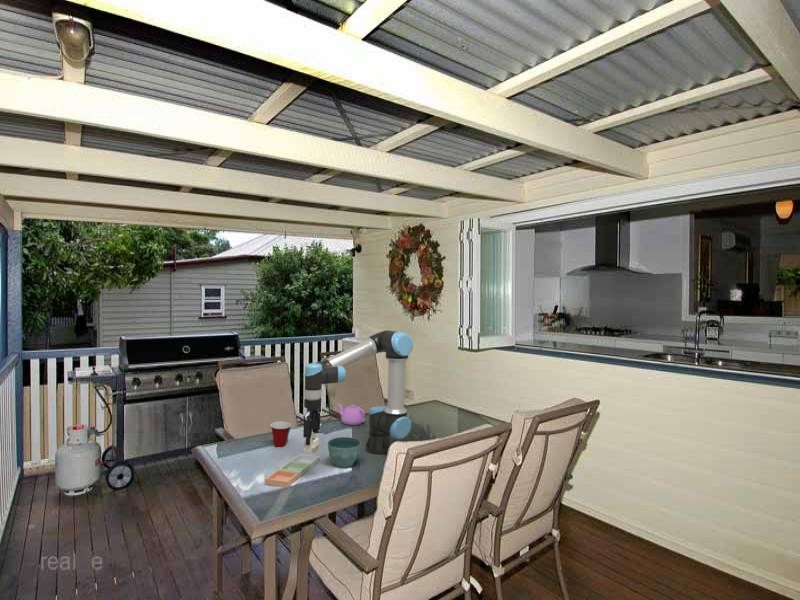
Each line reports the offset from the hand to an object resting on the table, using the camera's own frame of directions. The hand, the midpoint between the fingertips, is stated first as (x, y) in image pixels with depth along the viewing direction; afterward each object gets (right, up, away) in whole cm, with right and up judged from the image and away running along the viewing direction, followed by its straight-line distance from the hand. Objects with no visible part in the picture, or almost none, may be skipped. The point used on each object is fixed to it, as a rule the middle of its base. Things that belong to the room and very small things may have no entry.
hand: (311, 449), depth 205 cm
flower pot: (+12, -13, +17) cm, 25 cm away
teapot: (+8, -12, +88) cm, 89 cm away
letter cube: (0, 0, 0) cm, 0 cm away
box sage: (-9, -12, +6) cm, 16 cm away
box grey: (-6, -12, +16) cm, 22 cm away
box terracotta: (-12, -12, -5) cm, 18 cm away
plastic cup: (-25, -12, +40) cm, 49 cm away
